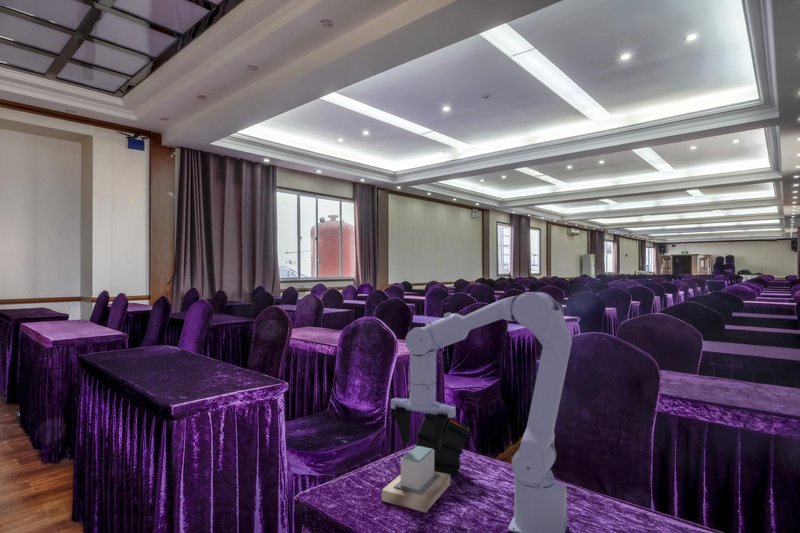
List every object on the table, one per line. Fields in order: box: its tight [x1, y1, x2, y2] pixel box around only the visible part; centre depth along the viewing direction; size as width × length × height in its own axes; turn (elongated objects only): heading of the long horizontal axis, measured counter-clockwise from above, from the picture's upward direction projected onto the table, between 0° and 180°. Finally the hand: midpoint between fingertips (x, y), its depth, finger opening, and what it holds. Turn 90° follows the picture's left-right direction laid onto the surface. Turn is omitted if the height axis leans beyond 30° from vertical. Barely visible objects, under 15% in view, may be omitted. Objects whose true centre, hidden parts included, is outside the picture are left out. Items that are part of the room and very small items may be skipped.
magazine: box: [415, 413, 470, 476], centre depth 109 cm, size 4×13×15 cm, turn 83°
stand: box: [381, 471, 451, 513], centre depth 97 cm, size 10×14×2 cm
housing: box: [400, 445, 434, 490], centre depth 98 cm, size 8×4×6 cm, turn 153°
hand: (421, 446), depth 97 cm, fingers open, 7 cm apart
